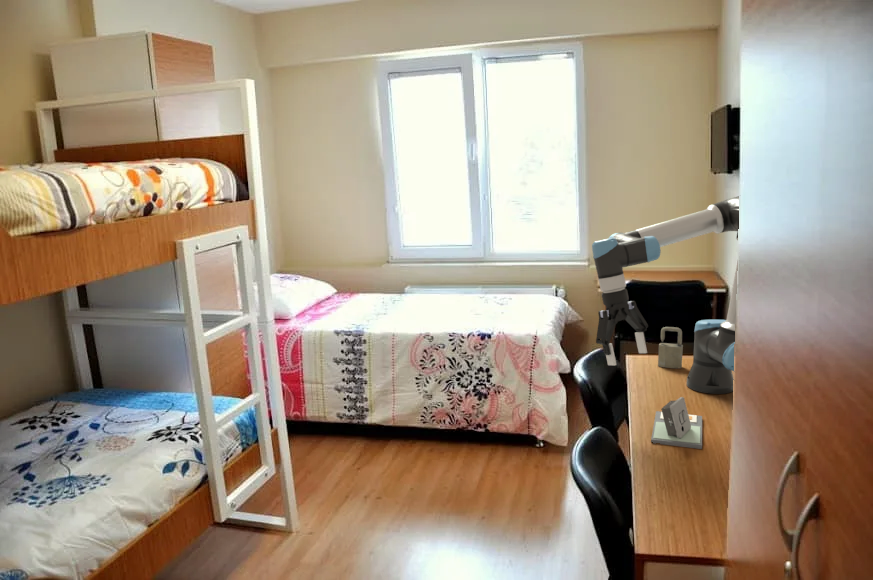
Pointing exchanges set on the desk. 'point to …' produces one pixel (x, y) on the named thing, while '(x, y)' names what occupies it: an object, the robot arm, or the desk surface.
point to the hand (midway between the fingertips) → (627, 359)
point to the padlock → (670, 350)
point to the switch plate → (688, 440)
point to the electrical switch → (676, 418)
